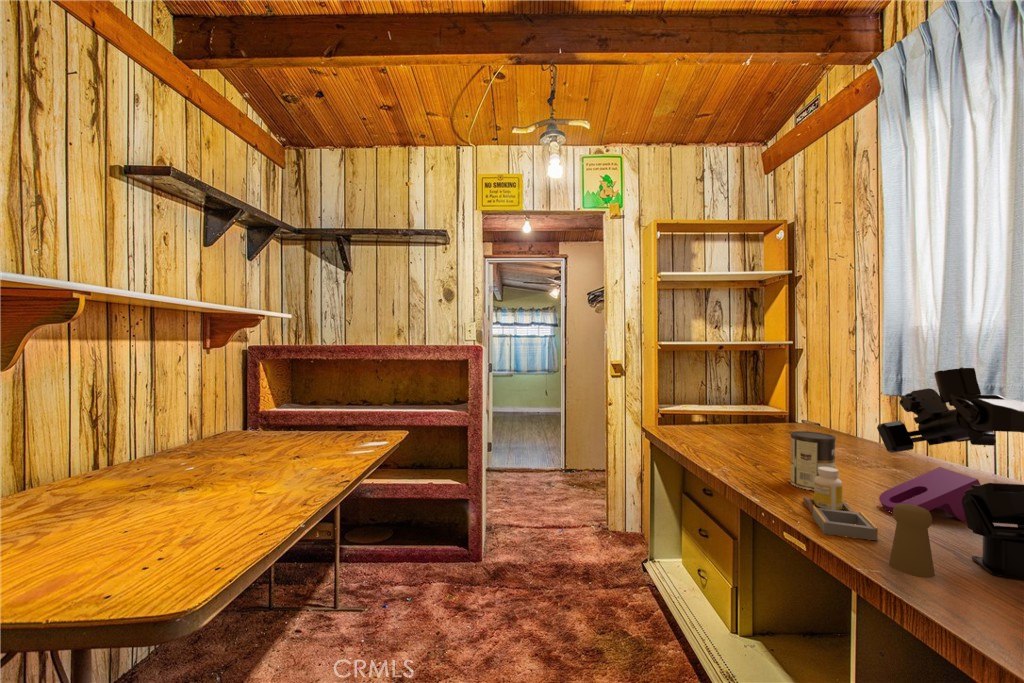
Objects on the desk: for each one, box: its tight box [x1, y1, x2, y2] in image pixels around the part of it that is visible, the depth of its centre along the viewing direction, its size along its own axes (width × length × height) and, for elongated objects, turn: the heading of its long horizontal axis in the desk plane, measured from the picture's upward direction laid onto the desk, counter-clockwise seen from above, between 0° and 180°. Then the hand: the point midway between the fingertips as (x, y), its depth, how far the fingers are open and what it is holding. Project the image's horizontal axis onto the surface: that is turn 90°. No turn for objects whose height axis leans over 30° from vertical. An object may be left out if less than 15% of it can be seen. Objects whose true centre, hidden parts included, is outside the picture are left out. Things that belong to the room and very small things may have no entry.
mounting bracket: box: [878, 466, 981, 522], centre depth 104 cm, size 9×8×18 cm
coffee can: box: [790, 430, 837, 492], centre depth 123 cm, size 10×10×14 cm
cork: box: [888, 504, 936, 578], centre depth 79 cm, size 6×6×11 cm
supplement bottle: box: [813, 467, 843, 511], centre depth 106 cm, size 5×5×10 cm
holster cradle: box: [802, 496, 855, 514], centre depth 106 cm, size 8×8×2 cm
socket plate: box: [812, 505, 879, 542], centre depth 95 cm, size 9×9×3 cm
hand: (906, 437), depth 104 cm, fingers open, 9 cm apart
